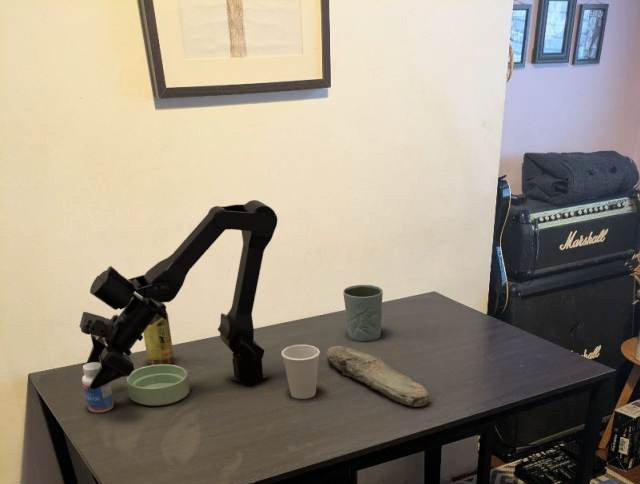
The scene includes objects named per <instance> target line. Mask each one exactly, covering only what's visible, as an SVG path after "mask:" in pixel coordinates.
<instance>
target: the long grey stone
mask: <svg viewBox="0 0 640 484" xmlns="http://www.w3.org/2000/svg"><path fill="white" fill-rule="evenodd" d="M326 361H327V363H330V364H331V365H332V366H333V367H335V369H337V370H339V371H340V372H342V376H347V377H348V378H353V379H354V380H356V381H358V382H360V383H364V384H365V385H367V386H369V387H370V388H371V389H372V390H376V391H378V392H380V393H382V394H383V395H384V396H386V397H388V398H390V399H391V400H393V401H394V402H397V403H400V404H401V405H406V406H409V407H414V408H416V407H424V406H426V405H428V404H429V402H430V394H429V392H428V390H427V389H426V387H424V386H423V385H422V384H421V383H418V382H416V381H414V380H413V379H411V378H410V377H409V376H407V375H406V374H403V373H401V372H400V371H397V370H396V369H394V368H392V367H391V366H390V365H388V364H386V363H385V361H384V360H382V358H380V357H376V356H374V355H372V354H371V353H370V354H369V353H367V352H366V351H361V350H359V349H354V348H351V347H348V346H344V345H336V346H335V345H333V346H330V347H329V348H328V349H327V350H326Z"/></svg>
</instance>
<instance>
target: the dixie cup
mask: <svg viewBox="0 0 640 484" xmlns="http://www.w3.org/2000/svg"><path fill="white" fill-rule="evenodd" d="M320 354H321V350H319V348H318V347H316V346H313V345H310V344H293V345H290V346H286V347H285V348H284V349H282V351H281V356H282V358H283V364H284V368H285V369H284V370H285V374H286V378H287V385H288V388H289V394H290V396H291V397H292V398H295V399H299V400H306V399H311V398H313V397H314V396H315V395H316V393H317V381H318V369H319V356H320Z"/></svg>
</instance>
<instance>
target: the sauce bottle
mask: <svg viewBox="0 0 640 484" xmlns="http://www.w3.org/2000/svg"><path fill="white" fill-rule="evenodd" d="M150 299H152V300H153V301H155V302H156V303H158V304H160V303H162V302H158V301H156V300H155V299H153V298H150ZM166 314H167V319H163V318H162V317H161V316H159V315H158V314H157V315H156V316H155V318H154V319H153V320H152V322H151V323H150V324H149V326H148V327H147V328H146V329H145V331H144V332H143V333H142V335H143V340H144V346H145V353H146V357H147V358H148V359H147V361H148V363H149V366H150V365H159V364H170V365H172V364H173V362H174V348H173V341H172V334H171V328H170V327H171V326H170V320H169V314H168V311H167V310H166Z"/></svg>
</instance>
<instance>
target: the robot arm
mask: <svg viewBox="0 0 640 484" xmlns="http://www.w3.org/2000/svg"><path fill="white" fill-rule="evenodd" d="M277 225H278V216H277V214H276V212H275V210H274V209H273V208H272V207H270V206H268V205H267V204H265V203H263V202H262V201H260V200H256V199H252V200H249V201H247V202H246V203H244V204H231V205H225V206H224V205H223V206H220V205H215V206H213V207H211V208H210V209H209V210H208V213H207V214H206V215H205V216H204V218H202V220H200V222H199V223H198V225H197V226H196V227H195V228H194V229H193V230H192V231H191V232H190V233H189V234H188V235H187V237H186V238H185V239H184V240H183V241H182V242H181V243H180V244H179V246H178V247H177V248H176V250H174V251H173V253H171V254H170V255H169V256H168V257H166V258H164V259H162V260H160V261H158V262H157V263H155V265H153V266H152V267H150V269H148V270H147V271H146V272H145V274H142V275H138V276H134V277H131V278H127V277H125V276H124V275H122V274H121V273H120V272H119V271H118V270H117V269H116V268H114V266H112V265H109V266H108V267H107V269H105V270H104V271H102V272H101V273H100V274H98V275H97V276H96V277H95V279H94V280H93V281H92V284H91V286H90V289H89V294H91V295H92V296H93V297H95V298H97V299H98V300H100V301H101V302H103V303H104V304H105V305H107V306H108V307H110V308H111V309H113V310H114V311H115V310H116V311H117V310H122V311H121V312H120V313H119V314H117V313H116V314H114V315H112V317H111V318H107V317H105V316H103V315H98V314H95V313H91V312H87V311H82V315H81V319H80V323H79V328H80V331H81V332H82V333H83V334H85V335H90V339H91V343H92V347H91V350H90V353H89V356H88V358H87V361H86V363H85V364H88V363H92V362H98V363H100V364H101V365H100V367H99V369H98V371H97V373H96V375H95V377H94V378H93V380H92V382H91V384H90V388H92V389H97V388H99V387H101V386H103V385H105V384H107V383H109V382H110V383H111V382H114V381H115V380H118V379H120V378H122V377H123V378H125V377H128V376H130V374H131V373H132V372H133V371H135V366H134V362H133V360H132V358H131V356H130V355H131V354H132V351H131V349H132V348H133V347H134V346H135V344H136V343H137V341H139V342H142V340H144V335H143V332H144V331H145V329H146V328H147V327H148V326H149V324H150V323H151V322H152V320H153V319H154V318H155V316H156V315H157V314H158V315H159V316H161V317H162V318H163V319H167V314H166V311H167V305H166V304H165V303H170V302H172V301H173V300H174V299H175V298H176V297H177V295H178V293H179V292H180V291H181V289H182V287H183V285H184V283H185V280H186V278H187V276H188V273H189V272H190V270H191V269H192V268H193V267H194V266H195V265H196V263H198V261H199V260H200V259H201V258H202V257H203V256H204V255H205V253H206V252H207V251H208V250H209V249H210V248H211V246H212V245H213V244H215V242H216V241H217V240H218V239H219V238H220V236H222V234H223V233H224V232H225V231H226V230H235V231H241V237H242V249H241V254H240V258H239V259H240V260H239V264H238V271H237V277H236V281H235V287H234V292H233V297H232V304H231V306H230V307H231V308H230V309H229V311H228V313H227V314H226V313H223V312H222V313H220V321H219V322H220V324H219V326H218V328H217V331H218V332H219V338H220V339H221V341H222V342H223V344H225V345H226V347H228V348H227V349H229V350H230V351H231V352H232V367H233V374H234V375H233V376H230V378H229V380H230V381H232V382H235V383H237V384H240V385H242V386H245V387H253V386H254V385H256V384H258V383H261V382H263V381H265V380H267V379H269V375H268V374H266V373H264V369H263V360H264V359H263V358H264V355H265V349H264V348H263V347H262V346H261V345H260V344H259V343H258V342H257V341H256V340H255V336H254V335H255V334H254V333H255V328H254V322H253V309H254V304H255V300H256V294H257V289H258V284H259V278H260V274H261V269H262V264H263V263H262V262H263V258H264V253H265V250H266V248H267V247H268V245H269V243H270V242H271V240H272V239H273V236H274V234H275V231H276V228H277ZM150 298H153V299H155V300H156V301H158V302H162V303H160V304H158V303H156V302H155V301H153V300H152V299H150Z"/></svg>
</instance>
